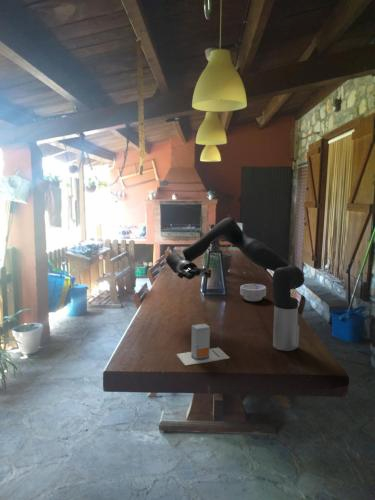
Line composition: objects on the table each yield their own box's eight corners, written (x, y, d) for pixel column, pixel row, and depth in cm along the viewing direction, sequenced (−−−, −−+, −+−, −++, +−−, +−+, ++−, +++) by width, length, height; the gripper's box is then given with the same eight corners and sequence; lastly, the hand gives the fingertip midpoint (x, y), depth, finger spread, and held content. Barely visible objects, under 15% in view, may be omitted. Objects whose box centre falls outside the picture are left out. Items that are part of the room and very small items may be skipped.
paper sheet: (218, 348, 149) (218, 347, 149) (229, 358, 139) (229, 357, 139) (176, 354, 143) (176, 353, 142) (185, 365, 133) (185, 364, 133)
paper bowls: (234, 299, 219) (235, 286, 218) (250, 294, 229) (250, 282, 228) (255, 304, 208) (255, 291, 206) (271, 299, 218) (271, 286, 217)
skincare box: (195, 359, 138) (195, 328, 136) (191, 354, 142) (191, 325, 140) (210, 356, 140) (210, 326, 138) (205, 352, 144) (205, 323, 142)
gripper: (172, 262, 165) (184, 268, 150) (201, 260, 169) (215, 266, 154) (172, 278, 166) (184, 286, 151) (201, 275, 171) (215, 283, 155)
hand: (200, 276), depth 153 cm, fingers open, 8 cm apart
